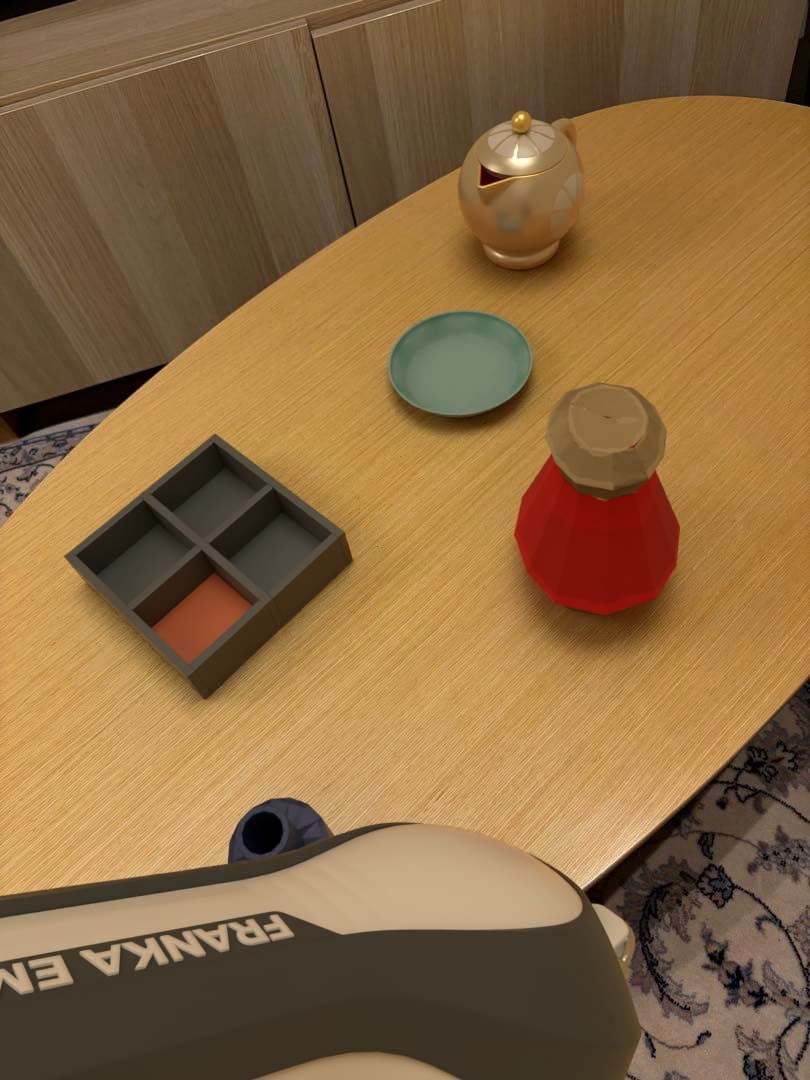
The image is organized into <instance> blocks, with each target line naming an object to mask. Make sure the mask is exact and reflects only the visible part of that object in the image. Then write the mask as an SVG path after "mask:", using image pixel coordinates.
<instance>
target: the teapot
mask: <svg viewBox="0 0 810 1080" xmlns="http://www.w3.org/2000/svg"><path fill="white" fill-rule="evenodd" d="M577 138H578V134H577V130H576V126H575V124H574V123H573V121H572V120H571V119H570V118H567V117H561V118H558V119H556V120H554V121H553V122H552V123H548V122H546V121H542V120H538V119H534V118H532V117H531V115H530V113H529V112H526V111H525V110H519V111H517V112H515V113H514V114H513V115H512V116H511V120H506V121H504V122H501V123H499V124H497V125H495V126H493V127H491V128H490V129H488V130H487V131H486V132H484V133H483V134H482V135H481V136H480V137H479V138H478V139H477V140H476V141H475V142H474V143H473V145H472V146H471V147H470V149H469V151H468V152H467V154H466V156H465V158H464V160H463V162H462V165H461V168H460V171H459V176H458V182H457V183H458V184H457V196H458V197H457V198H458V204H459V209H460V212H461V215H462V218H463V220H464V222H465V224H466V226H467V227H468V229H469V230H470V232H471V233H472V234H473V235H474V236H475V237H476V239H478V241H480V242H481V245H482V250H483V252H484V254H485V256H486V257H487V258H488V259H489V261H490V262H492V263H494V264H495V265H497V266H498V267H502V268H504V269H509V270H518V271H519V270H529V269H533V268H536V267H539V266H541V265H544V264H545V263H547V262H548V261H550V260H551V259H552V258H553V256H554V255H555V254H556V253H557V251H558V249H559V245H560V242H561V239H562V238H563V237H564V236H565V235H566V234H567V233H568V232H569V230H570V229H571V228H572V227H573V225H574V224H575V222H576V220H577V218H578V216H579V214H580V212H581V209H582V207H583V203H584V199H585V193H586V174H585V168H584V164H583V161H582V158H581V155H580V154H579V152H578V149H577V144H578V143H577V141H578V140H577Z"/></svg>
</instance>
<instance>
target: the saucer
mask: <svg viewBox="0 0 810 1080" xmlns="http://www.w3.org/2000/svg"><path fill="white" fill-rule="evenodd" d="M387 361H388V362H387V373H388V377H389V378H388V379H389V380H390V382H391V385H392V387H393V388H394V390H395V392H396V393H397V394H398V395H399V396H400V397H401V398H402V400H404V401H406V402H407V403H408V404H410V405H411V406H413V407H415V408H416V409H418V410H421V411H423V412H425V413H428V414H431V415H435V416H439V417H446V418H468V417H473V416H478V415H482V414H484V413H487V412H490V411H492V410H494V409H496V408H498V407H500V406H502V405H504V403H506V402H508V401H509V400H510V399H512V398H513V397H514V396H515V395H516V394H518V392H519V391H520V390H521V389H522V388H523V387H524V385H525V384H526V382H527V381H528V380H529V377H530V375H531V372H532V369H533V362H534V355H533V349H532V346H531V344H530V342H529V340H528V338H527V336H526V335H525V334H524V333H523V331H522V330H521V329H520V328H519V327H517V326H516V324H513V322H511V321H509V320H507V319H506V318H504V317H501V316H500V315H496V314H494V313H489V312H486V311H481V310H470V309H458V310H449V311H445V312H444V311H443V312H440V313H435V314H433V315H430V316H428V317H425V318H423V319H421V320H419V321H417V322H416V323H414V324H412V325H411V326H410V327H408V328H407V329H406V330H405V331H404V332H403V333H402V334H401V335H400V336H399V337H398V339H397V340H396V341H395V342H394V344H393V346H392V348H391V350H390V353H389V356H388V360H387Z"/></svg>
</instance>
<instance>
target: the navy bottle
mask: <svg viewBox="0 0 810 1080" xmlns="http://www.w3.org/2000/svg"><path fill="white" fill-rule="evenodd" d="M333 836H335V834H334V832H333V831H332V830H331V828H330V827H329V825H328V824H327V823H326V821H325V820H324V819H323V817H322V815H320V813H318V812H317V811H316V809H314V808H313V807H312V806H311V805H310V804H309V803H307V802H305V801H302V800H299V799H297V798H294V797H289V796H288V797H277V798H269V799H267V800H265V801H263V802H261V803H259V804H256V805H255V806H253V807H252V808H250V809H249V810H248V811H247V812H246V813H245V814H244V815H243V816H242V817H241V818H240V820H239V821H238V822H237V824H236V826H235V828H234V831H233V833H232V835H231V836H230V838H229V842H228V854H227V864H229V863H236V862H242V861H249V860H254V859H260V858H265V857H270V856H274V855H278V854H282V853H286V852H289V851H293V850H296V849H299V848H302V847H304V846H307V845H310V844H313V843H316V842H318V841H321V840H324V839H327V838H330V837H333Z"/></svg>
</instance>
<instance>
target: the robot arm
mask: <svg viewBox="0 0 810 1080" xmlns="http://www.w3.org/2000/svg"><path fill="white" fill-rule="evenodd" d="M635 948H636V936H635V932H634V930H633V928H632V926H631V925H630V924H629V923H628V922H627V921H626V920H624V919H623V918H622V917H620V916H619V915H618V914H617V913H615V912H614V911H612V910H610V909H609V908H608V907H606V906H604V905H602V904H599V903H592V902H591V901H590V898H589V897H588V896H587V894H586V892H585V891H584V890H583V889H582V888H581V886H579V885H578V884H577V883H576V882H575V881H574V880H572V879H571V878H570V877H569V876H568V875H566V874H565V873H564V872H562V871H561V870H559V869H557V868H556V867H554V866H553V865H551V864H549V863H548V862H546V861H544V860H543V859H542V858H541V857H540V856H538V855H537V854H536V853H534V852H532V851H524V850H522V849H520V848H518V847H516V846H514V845H511V844H510V843H507V842H505V841H503V840H501V839H498V838H496V837H493V836H490V835H487V834H484V833H482V832H478V831H475V830H474V831H473V830H470V829H466V828H462V827H457V826H451V825H445V824H435V823H423V822H422V823H421V822H411V821H409V822H408V821H393V822H391V821H390V822H381V823H375V824H374V823H373V824H369V825H365V826H361V827H358V828H354V829H351V830H347V831H345V832H342V833H339V834H336V835H334V836H333V837H330V838H327V839H324V840H321V841H318V842H316V843H313V844H310V845H307V846H304V847H302V848H299V849H296V850H293V851H289V852H286V853H282V854H278V855H274V856H270V857H265V858H260V859H254V860H249V861H242V862H236V863H229V864H228V863H224V864H223V863H222V864H216V865H209V866H202V867H196V868H190V869H183V870H176V871H170V872H162V873H155V874H154V873H153V874H147V875H140V876H133V877H125V878H117V879H111V880H103V881H95V882H89V883H81V884H73V885H67V886H60V887H53V888H47V889H46V888H45V889H38V890H31V891H24V892H18V893H11V894H3V895H0V1080H625V1079H626V1076H627V1074H628V1073H629V1072H628V1071H629V1069H630V1066H631V1064H632V1061H633V1058H634V1056H635V1053H636V1051H637V1049H638V1047H639V1044H640V1041H641V1039H642V1027H641V1024H640V1020H639V1017H638V1014H637V1010H636V1007H635V1004H634V1000H633V997H632V994H631V991H630V988H629V986H628V985H629V984H628V983H627V979H628V978H629V976H630V974H631V970H630V968H629V967H628V965H629V963H630V962H631V960H632V958H633V955H634V953H635Z"/></svg>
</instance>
